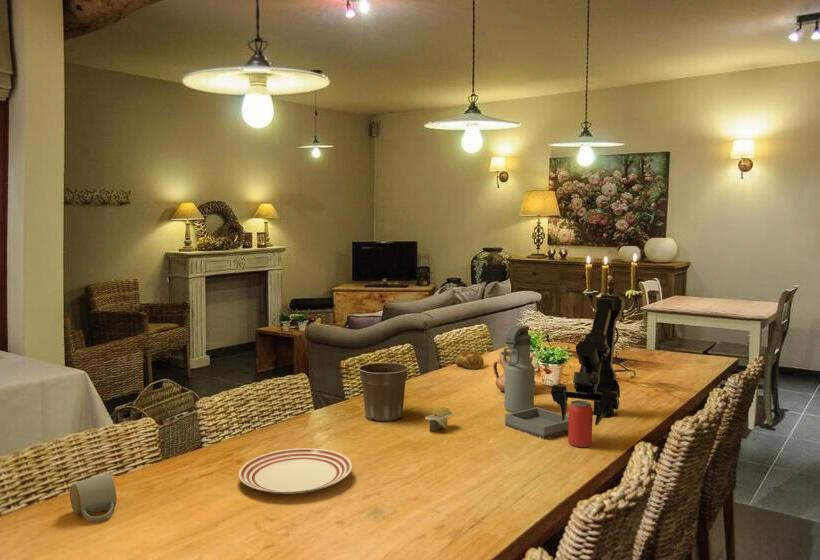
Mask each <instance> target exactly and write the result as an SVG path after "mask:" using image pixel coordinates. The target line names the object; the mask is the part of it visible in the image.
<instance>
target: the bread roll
mask: <svg viewBox="0 0 820 560" xmlns="http://www.w3.org/2000/svg"><path fill="white" fill-rule="evenodd" d="M454 363H455V364H456V365H457V366H458V367H460V368H464V369H466V368H467V369H466V370H479V369H481V368H482V367H484V364H485V361H484V358H483V356H482V355H481V354H480V353H478V352H476V351H474V350H471V351H468V350H464V351H461V352H460V353H459V354H458V355H457V357H455V361H454Z"/></svg>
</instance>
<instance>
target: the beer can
mask: <svg viewBox="0 0 820 560" xmlns="http://www.w3.org/2000/svg"><path fill="white" fill-rule="evenodd" d="M592 407H593V406H592V403H591V402H589V401H588V400H581V399H577V400H572V401H571V402H570V406H569V408H568V417H569V422H568V433H567V443H568V444H569V445H570V446H573V447H576V448H588V447H590V446H592V443H593V417H594V416H593V415H594V414H593V411H594V409H593V408H592Z"/></svg>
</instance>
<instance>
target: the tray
mask: <svg viewBox="0 0 820 560" xmlns="http://www.w3.org/2000/svg"><path fill="white" fill-rule="evenodd" d="M504 418H505V419H504V426H505V427H508V428H511V429H514V430H516V429H517V431H519V430H520V432H522V431H523V432H522V433H525V432H526V433H525V434H528V433H529V435H531V434H532V436H533V435H534V437H536V436H537V437H536V438H539V437H541V438H540V439H542V438H543V440H546V439H545V438H547V439H550V438H554V437H556V436H560V434H561V435H563V433H565V434H568V433H567V432H568V422H569V415H566V417H565V420H564V421H563V420H562V413H557V412H554V411H551V410H547V409H544V408H541V407H538V406H534V408H531V409H527V410H522V411H518V412H510V413H505V415H504ZM553 436H554V437H553ZM549 437H550V438H549Z"/></svg>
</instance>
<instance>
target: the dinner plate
mask: <svg viewBox="0 0 820 560" xmlns="http://www.w3.org/2000/svg"><path fill="white" fill-rule="evenodd" d="M351 461H352V460H350V458H348V457H347V456H346V455H345V454H343V453H339V452H336V451H332V450H329V449H323V448H309V447H306V448H305V447H304V448H302V447H301V448H289V449H288V448H287V449H281V450H275V451H271V452H267V453H264V454H262V455H258V456H256V457H255V458H252V459H251V460H248V461H247V462H246V463H245V464H243V465H242V466H241V467H240V469H239V471H238V479H239V480H240V482H241V483H242V484H243V485H245V486H247V487H249V488H251V489H253V490H257V491H261V492H266V493H272V494H281V495H283V494H284V495H297V494H298V495H299V494H304V493H311V492H316V491H320V490H323V489H326V488H329V487H331V486H334V485H335V484H338V483H339V482H341V481H343V480H344V479H345V478H347V477H348V476H349V475H350V473H351V472H352V469H353V464H352V462H351Z"/></svg>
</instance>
